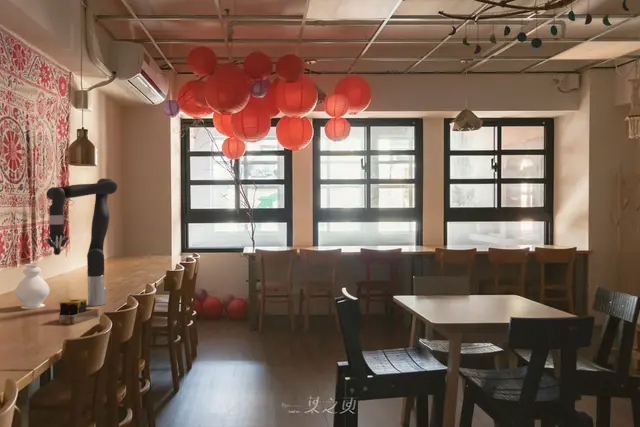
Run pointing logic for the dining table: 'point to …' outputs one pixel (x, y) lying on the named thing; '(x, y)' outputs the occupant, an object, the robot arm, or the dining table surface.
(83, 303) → the candle
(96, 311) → the dock
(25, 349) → the dining table surface
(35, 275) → the decorative vase
